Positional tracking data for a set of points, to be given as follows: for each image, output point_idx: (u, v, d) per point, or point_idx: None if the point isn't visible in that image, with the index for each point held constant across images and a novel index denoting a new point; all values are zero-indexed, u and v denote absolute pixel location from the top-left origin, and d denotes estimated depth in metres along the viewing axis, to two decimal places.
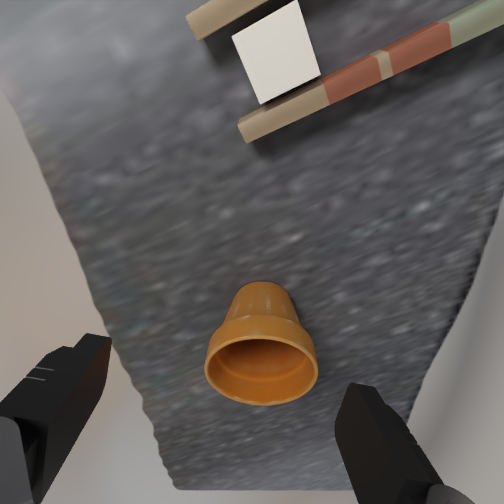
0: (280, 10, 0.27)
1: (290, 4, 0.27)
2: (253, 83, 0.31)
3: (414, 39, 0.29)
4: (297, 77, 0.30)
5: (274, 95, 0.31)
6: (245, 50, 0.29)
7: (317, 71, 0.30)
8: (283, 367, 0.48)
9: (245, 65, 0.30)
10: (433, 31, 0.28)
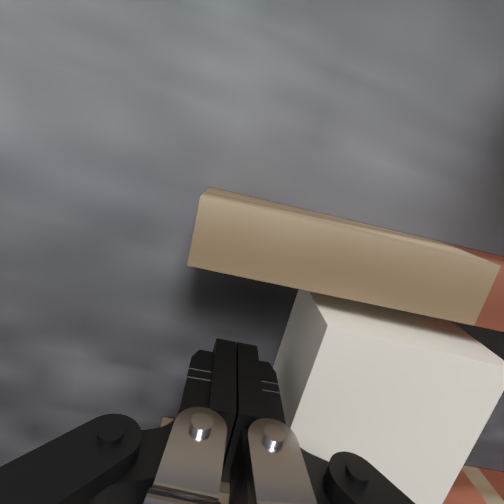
0: (469, 362, 0.10)
1: (496, 368, 0.10)
2: None
3: None
4: None
5: None
6: (333, 374, 0.10)
7: None
8: None
9: (305, 399, 0.10)
10: None
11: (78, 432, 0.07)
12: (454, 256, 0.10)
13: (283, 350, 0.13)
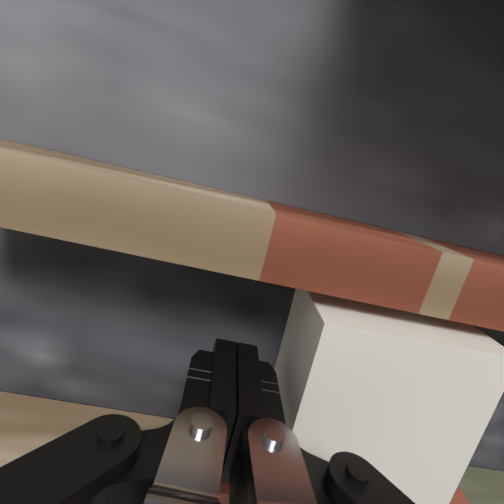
0: (472, 353, 0.10)
1: (500, 358, 0.10)
2: None
3: None
4: (398, 487, 0.11)
5: None
6: (333, 371, 0.10)
7: (444, 501, 0.11)
8: None
9: (307, 398, 0.10)
10: None
11: (78, 432, 0.07)
12: (221, 203, 0.09)
13: (284, 349, 0.13)
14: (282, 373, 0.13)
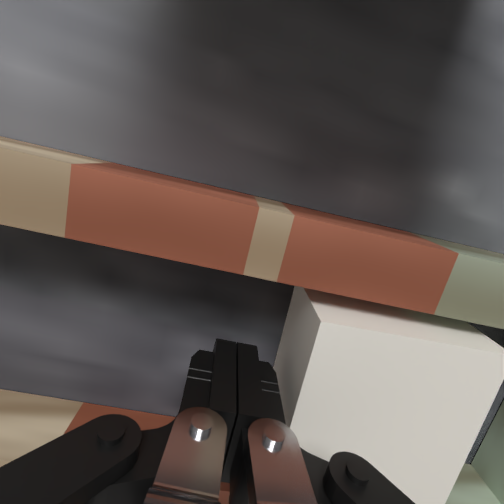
0: (467, 351, 0.10)
1: (495, 355, 0.10)
2: None
3: None
4: (395, 485, 0.11)
5: None
6: (329, 369, 0.10)
7: (441, 499, 0.11)
8: None
9: (304, 396, 0.10)
10: None
11: (78, 432, 0.07)
12: (10, 151, 0.08)
13: (282, 348, 0.13)
14: (280, 372, 0.13)
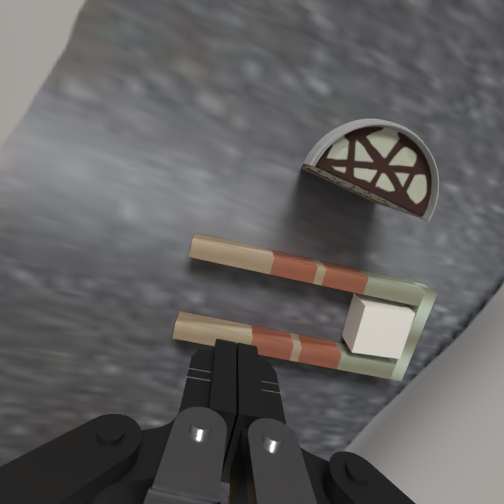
0: (402, 312, 0.38)
1: (410, 313, 0.38)
2: (357, 338, 0.38)
3: (319, 349, 0.40)
4: (385, 351, 0.39)
5: (364, 353, 0.39)
6: (367, 318, 0.38)
7: (399, 356, 0.39)
8: None
9: (360, 325, 0.38)
10: (331, 353, 0.40)
11: (78, 432, 0.07)
12: (260, 254, 0.36)
13: (349, 315, 0.41)
14: (349, 323, 0.41)
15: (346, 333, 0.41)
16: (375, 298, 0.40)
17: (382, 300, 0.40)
